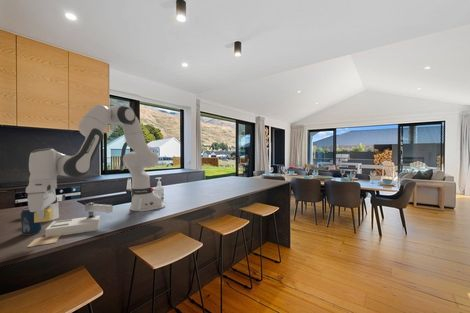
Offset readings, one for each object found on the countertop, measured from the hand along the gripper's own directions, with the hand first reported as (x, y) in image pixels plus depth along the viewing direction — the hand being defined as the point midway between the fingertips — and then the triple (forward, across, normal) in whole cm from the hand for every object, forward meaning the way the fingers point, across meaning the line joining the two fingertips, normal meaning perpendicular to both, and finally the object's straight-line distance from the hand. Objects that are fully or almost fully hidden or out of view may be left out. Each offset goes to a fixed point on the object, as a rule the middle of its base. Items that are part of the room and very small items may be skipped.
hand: (44, 216), depth 90 cm
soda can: (+11, -15, -9) cm, 21 cm away
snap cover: (+2, 0, 0) cm, 2 cm away
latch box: (+11, -10, +9) cm, 18 cm away
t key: (+6, -11, +19) cm, 23 cm away
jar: (+11, -36, -8) cm, 39 cm away
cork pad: (+11, 0, 0) cm, 11 cm away
